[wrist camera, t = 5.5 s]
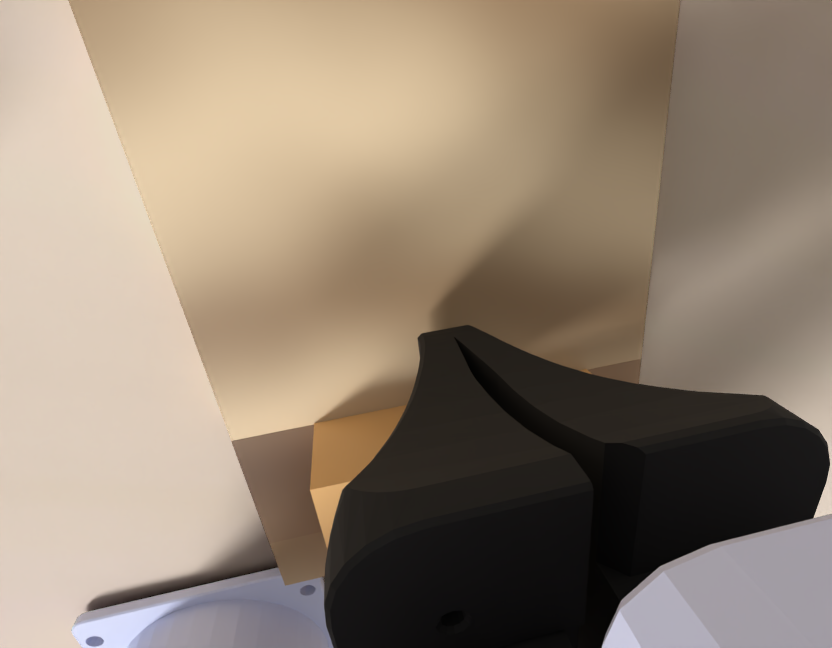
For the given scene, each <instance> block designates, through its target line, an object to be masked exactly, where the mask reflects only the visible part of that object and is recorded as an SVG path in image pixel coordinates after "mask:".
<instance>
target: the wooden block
mask: <svg viewBox="0 0 832 648" xmlns="http://www.w3.org/2000/svg"><path fill="white" fill-rule="evenodd" d="M579 371H582V372H586V373H589V374H591V373H590V372H589V371H588V370H587V369H584V370H579ZM406 406H407V405H403V406H398V407H393V408H388V409H383V410H378V411H373V412H368V413H363V414H358V415H353V416H348V417H343V418H338V419H333V420H328V421H323V422H318V423H314V435H313V451H312V466H311V481H310V492H311V495H312V499H313V502H314V506H315V509H316V513H317V516H318V519H319V523H320V526H321V530H322V533H323V536H324V540H325V543H326V547H327V549H328V544H329V538H330V533H331V529H332V525H333V521H334V516H335V513H336V509H337V506H338V502H339V499H340V496H341V492H342V490H343V489H344V487H345V486H346V485H347V484H349V483H350V482H351V481H352V480H353V479H354V478H355V477H356V476H357V475H358V474H359V473H360V472H361V471H362V470H363V469H364V468H365V467H366V466H367V465H368V464H369V463H370V462H371V461H372V460H373V458H374V457H375V456H376V454H377V453H378V452H379V450H380V449H381V448H382V446H383V445H384V444H385V442H386V441H387V440H388V438H389V437H390V435H391V434H392V432H393V431H394V429H395V427H396V425H397V424H398V422H399V420H400V418H401V416H402V414H403V412H404V410H405V408H406Z"/></svg>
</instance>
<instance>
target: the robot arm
mask: <svg viewBox="0 0 832 648" xmlns="http://www.w3.org/2000/svg"><path fill="white" fill-rule="evenodd" d="M417 339H418V347H419V354H420V361H419V368H418V373H417V377H416V380H415V384H414V387H413V391H412V393H411V396H410V399H409V401H408V404H407V406H406V408H405V410H404V412H403V414H402V416H401V418H400V420H399V422H398V424H397V425H396V427H395V429H394V431H393V432H392V434H391V435H390V437H389V438H388V440H387V441H386V442H385V444H384V445H383V446H382V448H381V449H380V450H379V452H378V453H377V454H376V456H375V457H374V458H373V460H372V461H371V462H370V463H369V464H368V465H367V466H366V467H365V468H364V469H363V470H362V471H361V472H360V473H359V474H358V475H357V476H356V477H355V478H354V479H353V480H352V481H351V482H350V483H349V484H347V485H346V486H345V487H344V489H343V490H342V492H341V496H340V499H339V502H338V506H337V509H336V513H335V516H334V521H333V525H332V529H331V533H330V538H329V544H328V549H327V557H326V563H325V576H324V581H323V578H322V577H320V578H316V579H312V580H307V581H303V582H299V583H295V584H290V585H286V586H285V584H284V581H283V579H282V576H281V573H280V571H279V568H278V567H277V568H273V569H269V570H265V571H260V572H256V573H252V574H247V575H243V576H239V577H234V578H230V579H226V580H221V581H217V582H213V583H209V584H204V585H200V586H196V587H191V588H187V589H183V590H178V591H174V592H170V593H166V594H161V595H157V596H153V597H148V598H144V599H140V600H135V601H131V602H127V603H122V604H118V605H114V606H110V607H105V608H101V609H97V610H92V611H88V612H86V613H83V614H81V615H80V616H79V617H78V618H77V619H76V621H75V623H74V625H73V627H72V630H71V631H72V634H73V636H74V637H75V638H76V640H77V641H78V642H79V644H80V645H81V647H82V648H832V514H829V515H825V516H821V517H817V518H813V517H814V515H815V512H816V509H817V506H818V503H819V501H820V498H821V495H822V492H823V489H824V487H825V484H826V481H827V476H828V471H829V466H830V460H829V452H828V445H827V442H826V440H825V439H824V437H823V436H822V434H821V433H820V431H819V430H818V429H817V428H815V427H814V426H812V425H810V424H809V423H807V422H806V421H804V420H803V419H801V418H799V417H798V416H796V415H795V414H793V413H792V412H790V411H788V410H787V409H785V408H784V407H782V406H780V405H779V404H777V403H776V402H774V401H773V400H771V399H769V398H768V397H766V396H763V395H746V394H728V393H711V392H696V391H686V390H678V389H670V388H661V387H654V386H648V385H641V384H635V383H630V382H625V381H620V380H615V379H610V378H606V377H601V376H597V375H593V374H589V373H586V372H582V371H579V370H576V369H572V368H569V367H565V366H562V365H559V364H556V363H554V362H551V361H548V360H546V359H543V358H541V357H538V356H535V355H533V354H530V353H528V352H526V351H523V350H521V349H519V348H517V347H514V346H512V345H510V344H508V343H506V342H504V341H502V340H500V339H498V338H496V337H494V336H492V335H490V334H488V333H486V332H483V331H481V330H479V329H477V328H475V327H473V326H470V325H464V326H458V327H453V328H448V329H442V330H437V331H431V332H426V333H421V334H420V336H419V337H418V338H417Z"/></svg>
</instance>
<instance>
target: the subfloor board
mask: <svg viewBox="0 0 832 648" xmlns="http://www.w3.org/2000/svg"><path fill="white" fill-rule="evenodd" d="M69 3H70V6H71V9H72V11H73V14H74V17H75V19H76V22H77V25H78V27H79V30H80V33H81V36H82V38H83V41H84V44H85V46H86V49H87V52H88V54H89V57H90V60H91V63H92V65H93V68H94V71H95V73H96V76H97V79H98V81H99V84H100V87H101V90H102V92H103V95H104V98H105V100H106V103H107V106H108V108H109V111H110V114H111V117H112V119H113V122H114V125H115V127H116V130H117V133H118V136H119V138H120V141H121V144H122V146H123V149H124V152H125V154H126V157H127V160H128V163H129V165H130V168H131V171H132V173H133V176H134V179H135V181H136V184H137V187H138V190H139V192H140V195H141V198H142V200H143V203H144V206H145V208H146V211H147V214H148V217H149V219H150V222H151V225H152V227H153V230H154V233H155V235H156V238H157V241H158V244H159V246H160V249H161V252H162V254H163V257H164V260H165V263H166V265H167V268H168V271H169V273H170V276H171V279H172V281H173V284H174V287H175V290H176V292H177V295H178V298H179V300H180V303H181V306H182V308H183V311H184V314H185V317H186V319H187V322H188V325H189V327H190V330H191V333H192V335H193V338H194V341H195V344H196V346H197V349H198V352H199V354H200V357H201V360H202V362H203V365H204V368H205V371H206V373H207V376H208V379H209V381H210V384H211V387H212V389H213V392H214V395H215V398H216V400H217V403H218V406H219V408H220V411H221V414H222V417H223V419H224V422H225V425H226V427H227V430H228V433H229V435H230V438H231V441H232V444H233V447H234V449H235V452H236V455H237V457H238V460H239V463H240V466H241V468H242V471H243V474H244V476H245V479H246V482H247V484H248V487H249V490H250V493H251V495H252V498H253V501H254V503H255V506H256V509H257V511H258V514H259V517H260V520H261V522H262V525H263V528H264V530H265V533H266V536H267V538H268V541H269V544H270V546H271V549H272V552H273V554H274V557H275V560H276V562H277V565H278V568H279V571H280V573H281V576H282V579H283V581H284V584H285V586H286V585H290V584H295V583H299V582H303V581H307V580H312V579H316V578H320V577H324V576H325V563H326V557H327V547H326V543H325V540H324V536H323V533H322V530H321V526H320V523H319V519H318V516H317V513H316V509H315V506H314V502H313V499H312V495H311V492H310V481H311V466H312V451H313V435H314V423H318V422H323V421H328V420H333V419H338V418H343V417H348V416H353V415H358V414H363V413H368V412H373V411H378V410H383V409H388V408H393V407H398V406H403V405H407V404H408V401H409V399H410V396H411V393H412V391H413V387H414V384H415V380H416V377H417V373H418V368H419V361H420V354H419V347H418V339H417V338H418V337H419V336H420V334H421V333H426V332H431V331H437V330H442V329H448V328H453V327H458V326H464V325H470V326H473V327H475V328H477V329H479V330H481V331H483V332H486V333H488V334H490V335H492V336H494V337H496V338H498V339H500V340H502V341H504V342H506V343H508V344H510V345H512V346H514V347H517V348H519V349H521V350H523V351H526V352H528V353H530V354H533V355H535V356H538V357H541V358H543V359H546V360H548V361H551V362H554V363H556V364H559V365H562V366H565V367H569V368H572V369H576V370H584V369H587V370H588V371H589V372H590V373H591V374H593V375H597V376H601V377H606V378H610V379H615V380H620V381H625V382H630V383H635V384H639V376H640V367H641V356H642V347H643V337H644V328H645V319H646V310H647V301H648V292H649V282H650V273H651V264H652V255H653V246H654V236H655V227H656V218H657V209H658V200H659V191H660V181H661V172H662V163H663V154H664V145H665V136H666V126H667V117H668V108H669V99H670V90H671V81H672V71H673V62H674V53H675V44H676V35H677V26H678V16H679V7H680V0H69Z"/></svg>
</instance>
